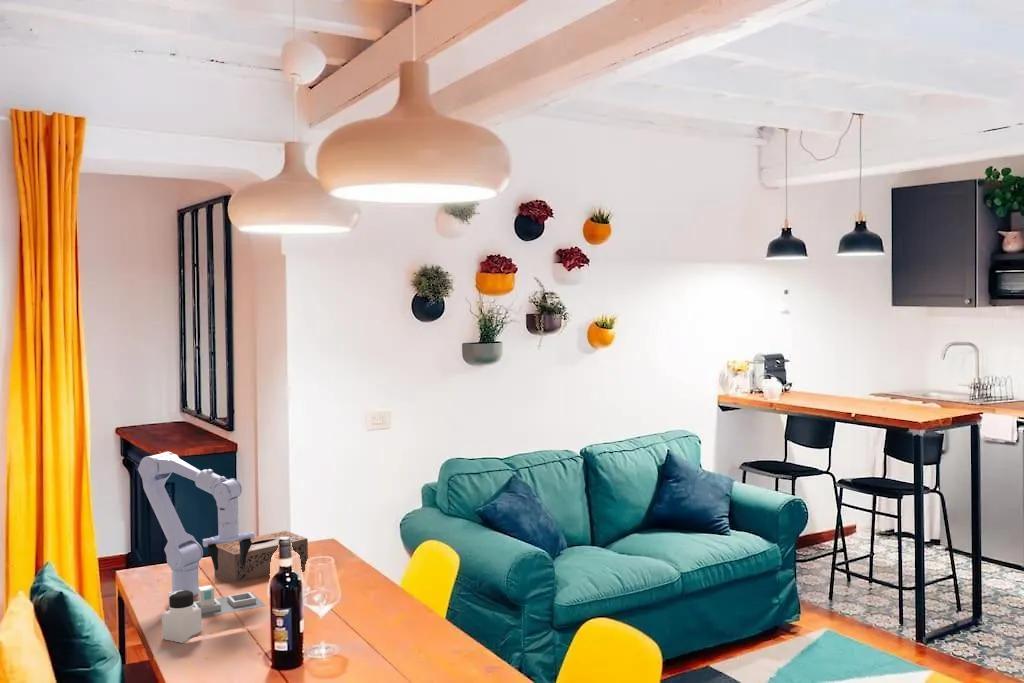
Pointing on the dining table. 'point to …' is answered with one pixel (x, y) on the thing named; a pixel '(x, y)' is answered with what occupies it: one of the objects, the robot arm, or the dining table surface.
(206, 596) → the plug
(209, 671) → the dining table surface
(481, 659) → the dining table surface
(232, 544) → the tissue box cover
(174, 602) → the medicine bottle
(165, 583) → the dining table surface
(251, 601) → the grey flat plate
